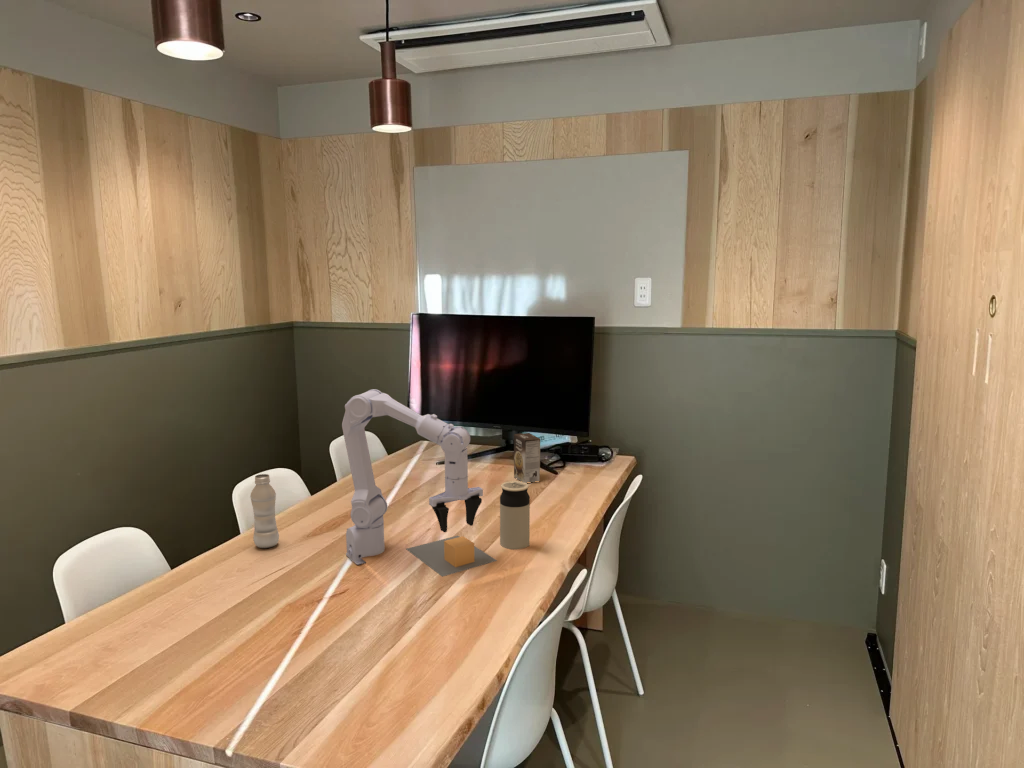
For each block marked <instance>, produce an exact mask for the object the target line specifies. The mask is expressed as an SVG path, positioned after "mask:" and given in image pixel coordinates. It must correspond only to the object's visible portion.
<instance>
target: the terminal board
mask: <svg viewBox="0 0 1024 768" xmlns="http://www.w3.org/2000/svg"><path fill="white" fill-rule="evenodd" d="M458 537H460V536H459V535H455V536H451V537H447V538H443V539H439V540H435V541H431V542H428V543H424V544H420V545H415V546H411V547H408V548H405V549H406V550H407V551H408V552H409V553H410V554H412V555H413V556H414V557H416V558H417V559H418V560H419V561H421V562H422V563H424V564H425V565H426V566H428V567H429V568H430V569H432V570H433V571H434V572H436V574H438V575H439V576H440V577H446V576H449V575H453V574H456V573H461V572H463V571H467V570H470V569H474V568H477V567H480V566H484V565H487V564H490V563H494V562H498V560H497V559H496V558H494V557H493V556H491V555H489V554H488V553H487V552H485V551H483V550H481V549H480V548H478V547H476V545H474V562H472V563H469V564H465V565H461V566H458V567H454V566H453V565H452V564H450V563H449V562H447V561H446V560H445V559H444V541H446V540H450V539H454V538H458Z"/></svg>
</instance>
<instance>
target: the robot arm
mask: <svg viewBox="0 0 1024 768" xmlns="http://www.w3.org/2000/svg"><path fill="white" fill-rule="evenodd" d="M344 409H345V412H344V415H343V419H342V423H341V428H342V432H343V433H342V434H343V437H344V443H345V447H346V453H347V458H348V462H349V468H350V473H351V478H352V482H353V488H354V492H353V495H352V497H351V501H350V504H351V510H350V519H351V522H352V523H353V524H354V525H353V526H350V527H348V528H346V531H345V532H346V533H345V540H346V541H345V542H346V553H345V556H347V558H349V559H350V560H351V561H352V562H353V563H354V564H356V565H358V566H359V565H363V564H367V562H366V560H364V559H363V558H366V557H373V556H378V555H380V554H382V553H383V552H385V550H386V549H385V527H384V524H385V523H384V522H385V521H384V515H385V514H386V512H387V510H388V502H387V500H386V498H385V497H384V495H383V492H382V489H381V488H380V487H379V486H377V485H376V481H375V476H374V471H373V464H372V460H371V456H370V451H369V445H368V440H367V434H366V430H365V427H366V426H367V425H368V424H369V422H370V421H371V420H372V418H376V417H383V416H389V417H391V418H393V419H396V420H398V421H400V422H402V423H405V424H407V425H409V426H411V427H413V428H415V430H416V433H417V435H419V436H421V437H422V438H424V439H427V440H428V441H430V442H432V443H433V444H434V443H435V444H436V445H438V446H440V447H441V449H442V451H443V452H444V491H443V492H441V493H438V494H436V495H433V496H429V498H428V499H429V500H428V502H429V503H428V505H429V506H430V507H431V508H432V509H433V511H434V513H435V515H436V518H437V521H438V524H439V525H438V526H439V528H440V531H441V532H443V533H447V532H448V516H449V515H448V514H449V510H450V508H449V507H447V505H446V504H447V503H451V502H457V501H464V504H465V523H466V524H467V525H468V526H470V527H472V526H474V522H475V518H476V514H477V512H478V510H479V508H480V506H481V504H482V498H481V497H484V489H483V488H482V487H480V486H474V487H469V484H468V483H469V481H468V480H469V479H468V477H469V474H468V472H469V470H468V467H469V464H468V463H469V462H468V459H469V458H468V448H467V447H468V446H469V444H470V443H471V434H470V433H469V431H468V430H467V429H466V428H464V427H463V426H461V425H458V426H455V425H454V424H453V423H447V422H445V421H443V420H441V419H439V418H438V415H436V414H435V413H433V414H429V413H427V414H424V415H421V414H419V413H418V412H416V411H414V410H413V409H411V408H410V407H408V406H406V405H404V404H403V403H401V402H398V401H397V400H396V399H394V398H393V397H391V396H390V395H389V394H388V393H385V392H382V391H381V390H379V389H376V388H375V389H373V388H372V389H369V390H367V391H365V392H363V393H360V394H356V395H354V396H352V397H350V398H349V400H348V401H347V402H346V403H345V405H344Z"/></svg>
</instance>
